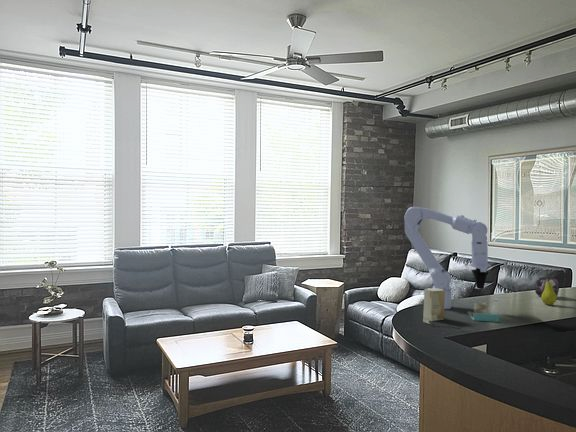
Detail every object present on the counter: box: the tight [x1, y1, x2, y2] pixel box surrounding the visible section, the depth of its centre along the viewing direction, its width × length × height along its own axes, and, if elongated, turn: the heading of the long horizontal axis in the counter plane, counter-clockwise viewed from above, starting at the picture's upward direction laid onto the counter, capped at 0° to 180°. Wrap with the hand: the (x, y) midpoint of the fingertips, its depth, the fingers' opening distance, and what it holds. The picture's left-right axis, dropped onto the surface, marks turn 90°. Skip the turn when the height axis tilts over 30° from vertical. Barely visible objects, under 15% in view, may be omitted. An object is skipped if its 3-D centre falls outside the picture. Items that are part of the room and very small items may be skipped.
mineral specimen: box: [534, 276, 560, 297], centre depth 218 cm, size 10×10×10 cm
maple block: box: [473, 302, 488, 314], centre depth 175 cm, size 4×4×4 cm
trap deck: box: [466, 311, 500, 323], centre depth 171 cm, size 14×8×4 cm, turn 168°
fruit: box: [540, 276, 558, 306], centre depth 200 cm, size 6×6×12 cm
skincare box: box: [422, 287, 445, 325], centre depth 167 cm, size 6×4×12 cm
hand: (480, 288), depth 180 cm, fingers closed
